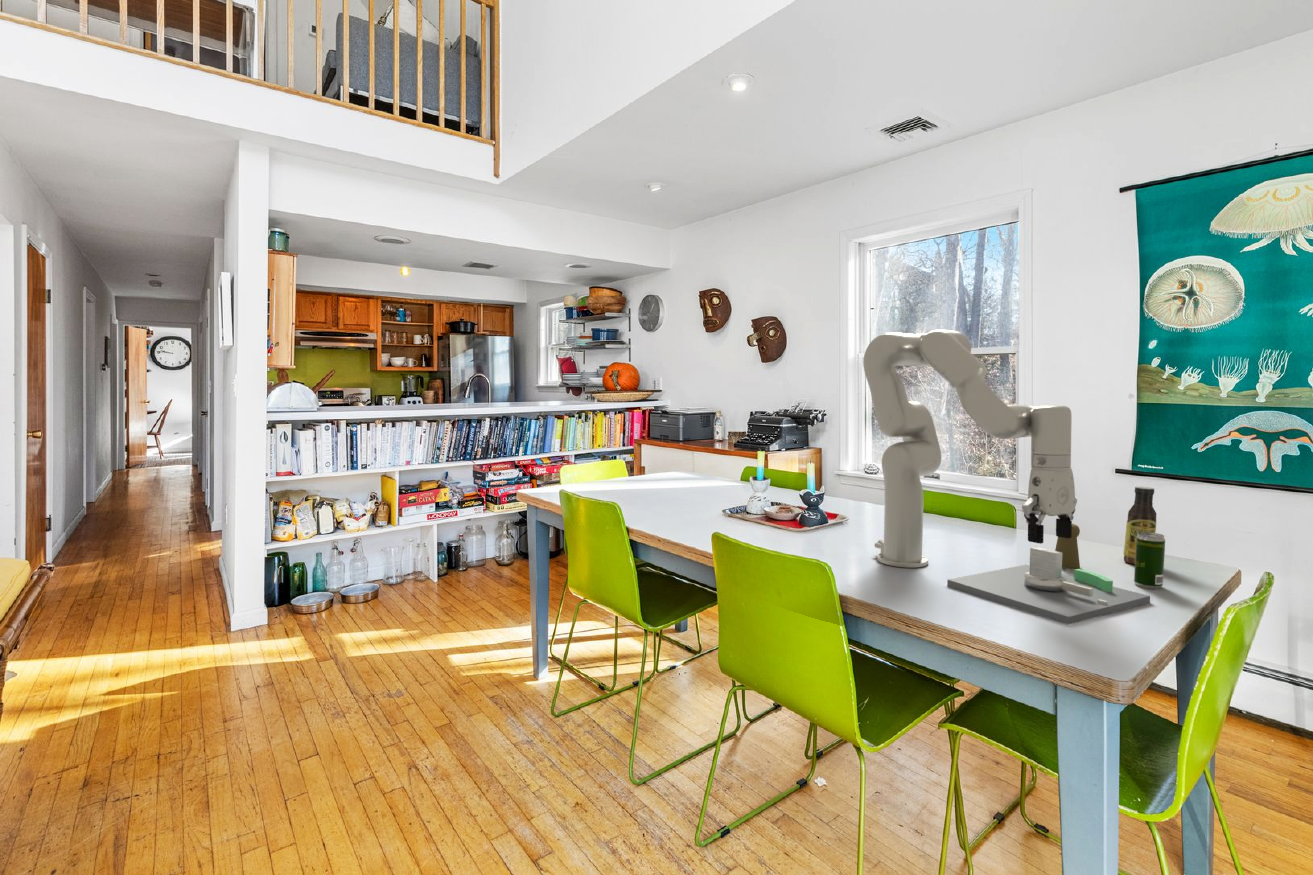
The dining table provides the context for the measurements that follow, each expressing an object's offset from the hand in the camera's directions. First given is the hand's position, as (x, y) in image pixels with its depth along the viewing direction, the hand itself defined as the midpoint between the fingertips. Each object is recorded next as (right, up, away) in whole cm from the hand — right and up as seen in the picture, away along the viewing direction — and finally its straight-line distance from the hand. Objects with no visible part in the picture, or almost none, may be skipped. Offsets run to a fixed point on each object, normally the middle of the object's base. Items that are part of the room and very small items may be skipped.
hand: (1049, 539), depth 146 cm
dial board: (0, -12, +2) cm, 12 cm away
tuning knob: (+1, -11, -1) cm, 11 cm away
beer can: (+27, -12, +7) cm, 30 cm away
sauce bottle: (+39, -10, +26) cm, 48 cm away
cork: (+18, -11, +24) cm, 32 cm away
